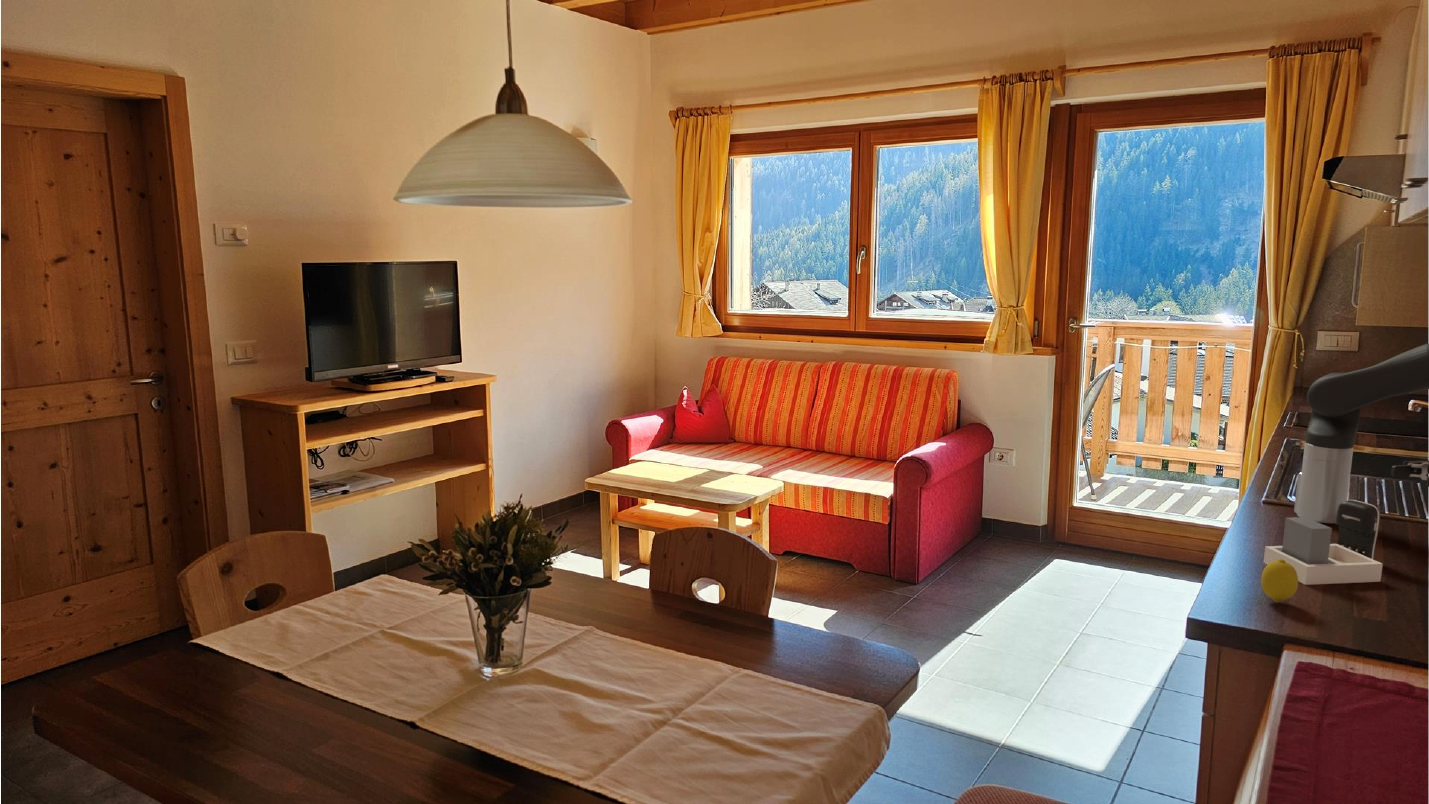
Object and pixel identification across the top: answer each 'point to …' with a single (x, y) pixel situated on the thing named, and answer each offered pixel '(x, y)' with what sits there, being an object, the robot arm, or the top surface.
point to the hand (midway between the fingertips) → (1410, 476)
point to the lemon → (1279, 580)
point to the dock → (1332, 568)
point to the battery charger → (1358, 526)
